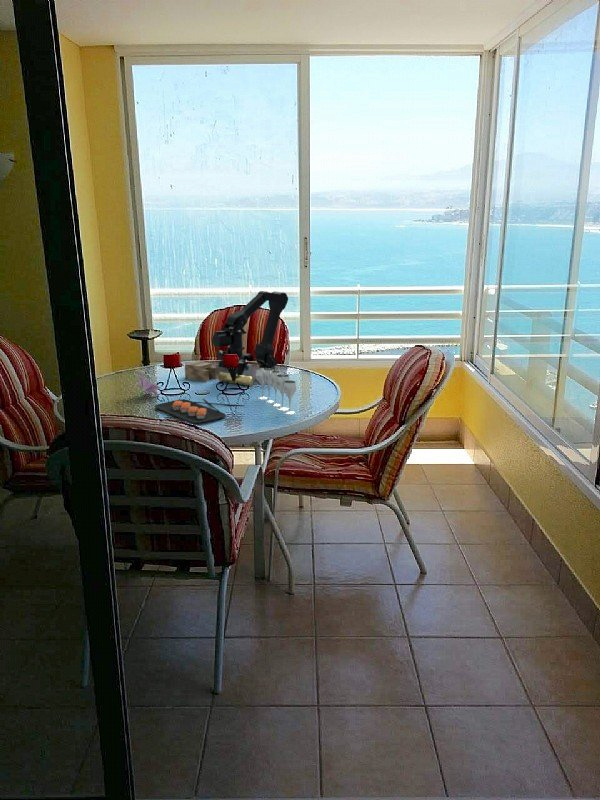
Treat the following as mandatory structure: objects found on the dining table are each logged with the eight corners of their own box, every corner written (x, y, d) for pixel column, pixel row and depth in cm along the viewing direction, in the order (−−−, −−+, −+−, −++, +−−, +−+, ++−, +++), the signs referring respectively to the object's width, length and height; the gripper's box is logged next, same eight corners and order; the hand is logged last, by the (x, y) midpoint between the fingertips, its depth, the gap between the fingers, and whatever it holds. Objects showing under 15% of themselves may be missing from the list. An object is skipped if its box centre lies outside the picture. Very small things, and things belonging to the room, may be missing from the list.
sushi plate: (151, 410, 240) (151, 400, 239) (215, 395, 260) (215, 387, 259) (196, 428, 220) (195, 418, 218) (261, 411, 240) (261, 402, 238)
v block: (252, 372, 297) (252, 364, 296) (240, 377, 288) (240, 368, 287) (228, 369, 303) (227, 360, 302) (215, 373, 295) (215, 364, 294)
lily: (162, 403, 250) (167, 380, 252) (133, 395, 244) (139, 371, 246) (151, 405, 260) (157, 383, 262) (124, 397, 254) (130, 374, 256)
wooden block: (217, 378, 286) (217, 364, 284) (206, 381, 279) (206, 367, 277) (196, 374, 291) (195, 361, 290) (185, 378, 285) (184, 364, 283)
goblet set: (299, 413, 236) (299, 378, 232) (285, 415, 233) (286, 380, 230) (265, 395, 259) (265, 363, 256) (253, 397, 257) (252, 365, 253)
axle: (253, 385, 275) (253, 376, 274) (248, 386, 271) (248, 377, 271) (223, 380, 282) (223, 371, 281) (217, 381, 279) (217, 372, 278)
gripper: (232, 339, 283) (233, 373, 288) (207, 346, 268) (208, 382, 272) (253, 342, 278) (253, 376, 283) (229, 349, 263) (230, 385, 267)
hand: (236, 379), depth 276 cm, fingers closed on axle, 4 cm apart
